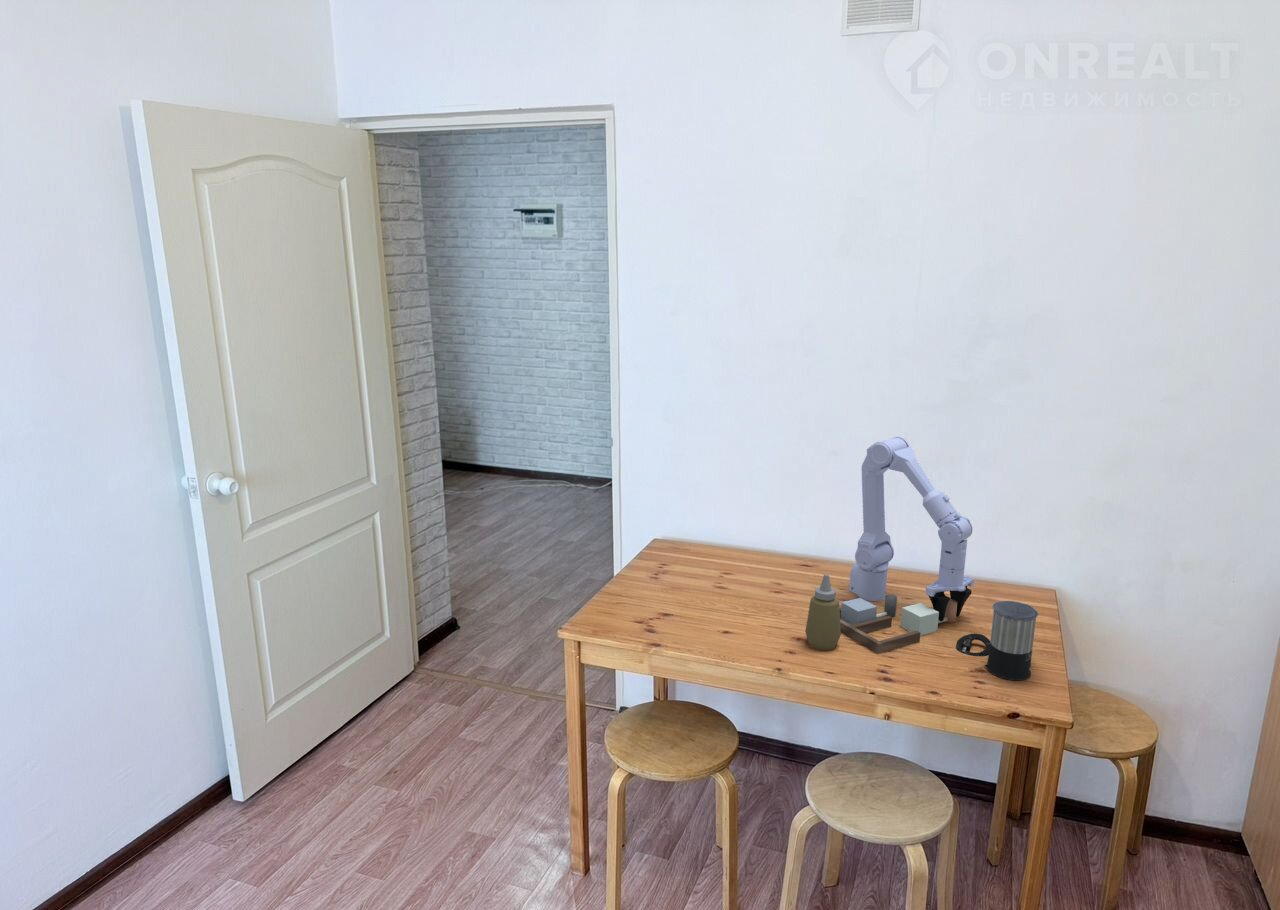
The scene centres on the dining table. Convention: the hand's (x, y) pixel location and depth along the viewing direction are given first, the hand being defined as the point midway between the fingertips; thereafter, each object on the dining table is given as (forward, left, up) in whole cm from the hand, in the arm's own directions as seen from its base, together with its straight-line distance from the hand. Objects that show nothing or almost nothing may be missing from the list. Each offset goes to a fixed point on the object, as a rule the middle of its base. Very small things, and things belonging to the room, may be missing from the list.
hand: (947, 617), depth 203 cm
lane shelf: (-5, -14, -2) cm, 14 cm away
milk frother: (+19, -6, -2) cm, 20 cm away
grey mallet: (-9, -16, -1) cm, 19 cm away
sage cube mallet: (0, -5, -1) cm, 5 cm away
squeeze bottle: (-5, -36, -2) cm, 36 cm away
